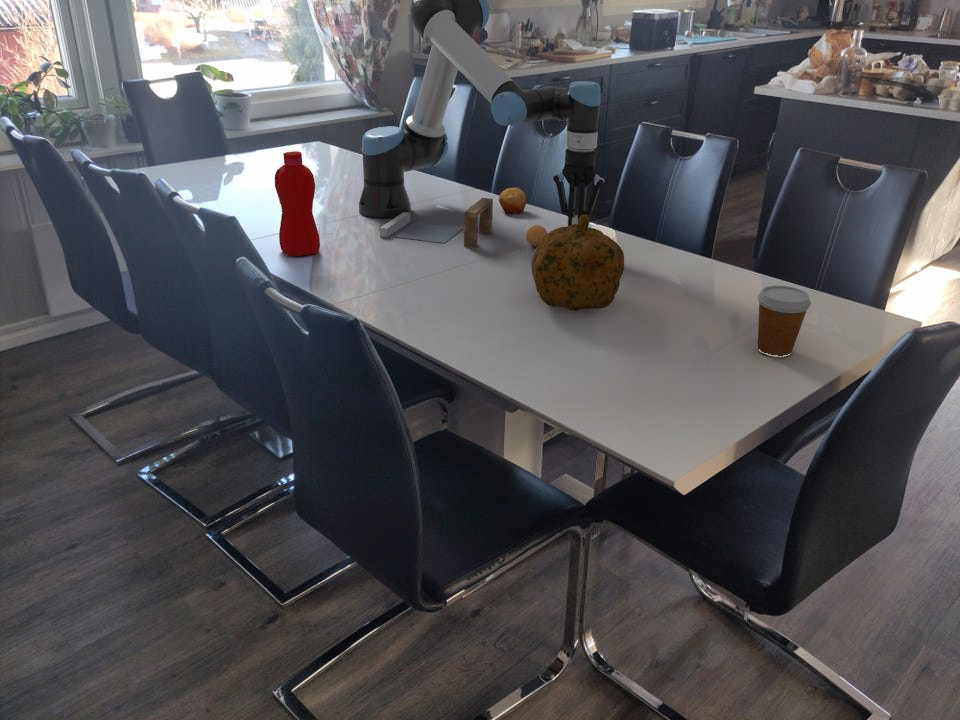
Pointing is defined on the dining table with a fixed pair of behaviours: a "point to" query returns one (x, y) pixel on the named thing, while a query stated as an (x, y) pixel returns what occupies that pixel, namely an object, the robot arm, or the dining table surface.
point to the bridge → (471, 221)
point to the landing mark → (429, 233)
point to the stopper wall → (394, 224)
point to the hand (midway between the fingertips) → (574, 241)
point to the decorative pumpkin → (577, 267)
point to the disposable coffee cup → (780, 318)
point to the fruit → (512, 200)
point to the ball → (535, 234)
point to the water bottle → (296, 207)
